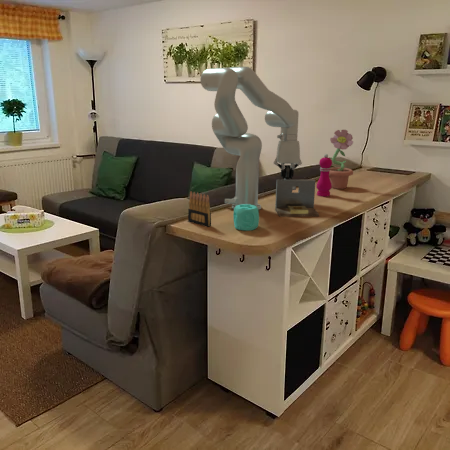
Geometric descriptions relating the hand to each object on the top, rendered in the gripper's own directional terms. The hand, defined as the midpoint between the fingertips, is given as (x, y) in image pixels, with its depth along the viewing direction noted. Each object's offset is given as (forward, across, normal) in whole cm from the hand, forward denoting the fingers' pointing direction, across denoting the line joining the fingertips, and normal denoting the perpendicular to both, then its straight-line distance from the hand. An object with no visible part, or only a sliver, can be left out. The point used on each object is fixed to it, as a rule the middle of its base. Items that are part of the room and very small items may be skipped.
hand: (287, 177), depth 209 cm
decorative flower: (+10, +32, +27) cm, 43 cm away
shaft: (+2, 0, -7) cm, 8 cm away
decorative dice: (+10, -23, -45) cm, 52 cm away
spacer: (+8, 0, -23) cm, 25 cm away
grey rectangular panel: (+9, 0, -20) cm, 22 cm away
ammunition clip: (+10, -40, -39) cm, 57 cm away
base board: (+10, 0, -25) cm, 27 cm away
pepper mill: (+10, +20, +9) cm, 24 cm away
